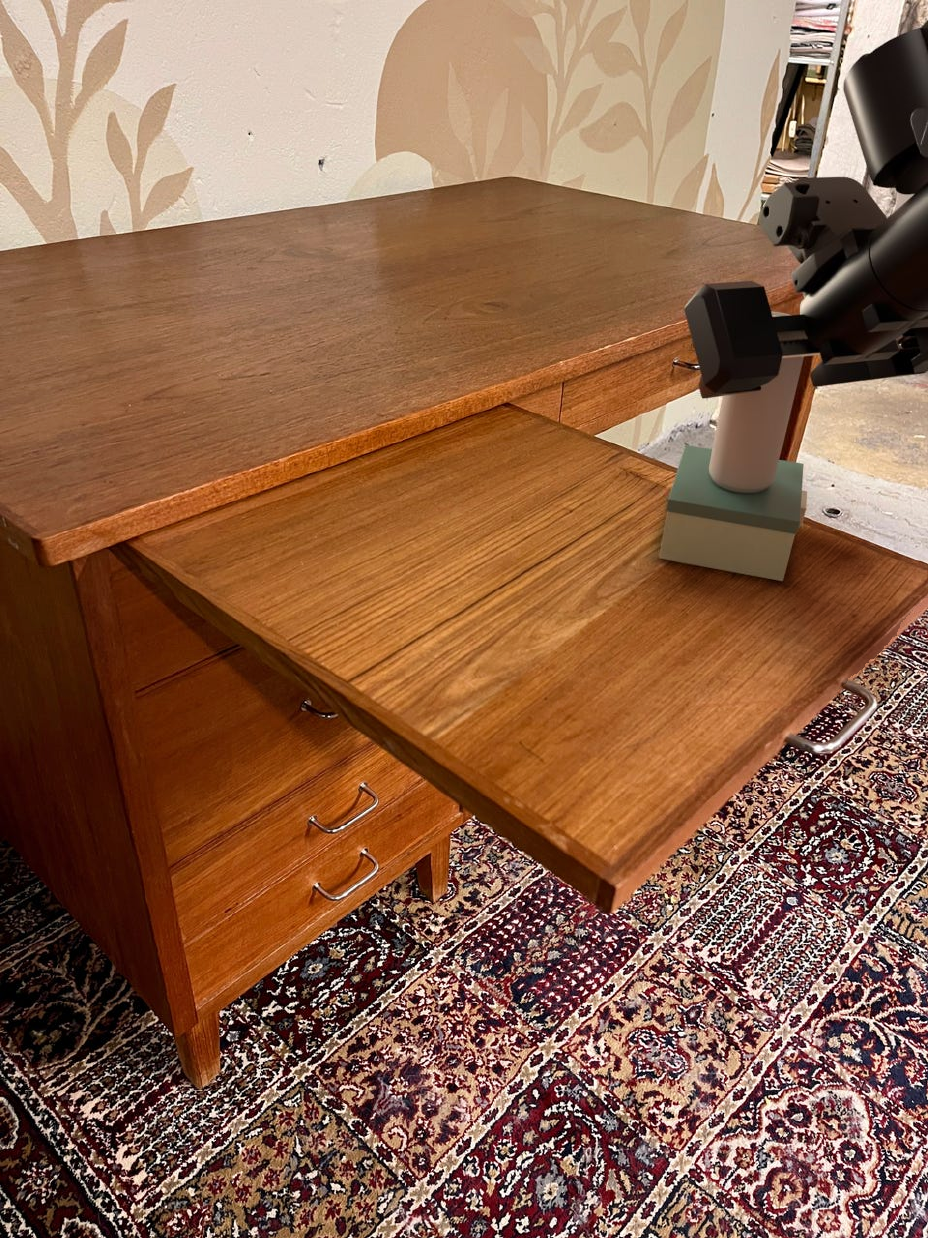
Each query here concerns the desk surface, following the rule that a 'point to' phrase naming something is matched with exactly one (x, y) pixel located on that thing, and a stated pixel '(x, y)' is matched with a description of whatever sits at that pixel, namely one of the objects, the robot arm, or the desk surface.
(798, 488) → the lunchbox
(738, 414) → the beverage can
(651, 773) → the desk surface
